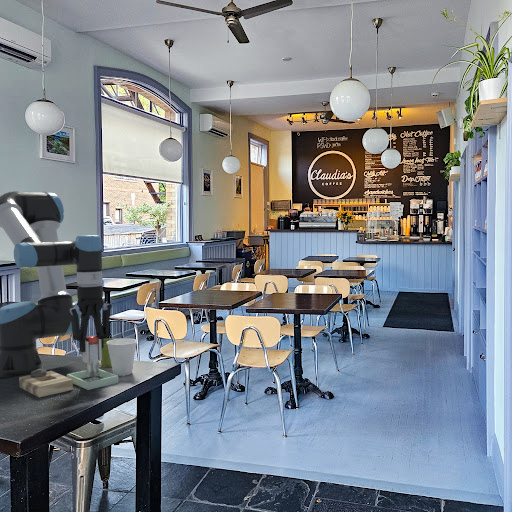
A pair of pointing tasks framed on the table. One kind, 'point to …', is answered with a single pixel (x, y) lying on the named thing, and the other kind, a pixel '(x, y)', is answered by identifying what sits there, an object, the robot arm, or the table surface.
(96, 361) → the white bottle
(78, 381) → the tray
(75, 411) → the table surface
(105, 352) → the plant pot
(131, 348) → the cup
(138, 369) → the table surface
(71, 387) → the wooden block with hole
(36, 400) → the table surface
